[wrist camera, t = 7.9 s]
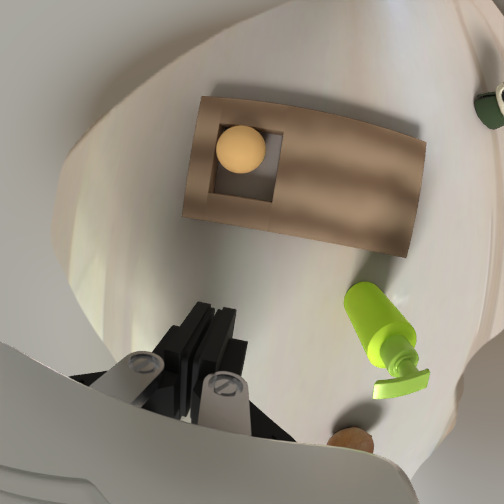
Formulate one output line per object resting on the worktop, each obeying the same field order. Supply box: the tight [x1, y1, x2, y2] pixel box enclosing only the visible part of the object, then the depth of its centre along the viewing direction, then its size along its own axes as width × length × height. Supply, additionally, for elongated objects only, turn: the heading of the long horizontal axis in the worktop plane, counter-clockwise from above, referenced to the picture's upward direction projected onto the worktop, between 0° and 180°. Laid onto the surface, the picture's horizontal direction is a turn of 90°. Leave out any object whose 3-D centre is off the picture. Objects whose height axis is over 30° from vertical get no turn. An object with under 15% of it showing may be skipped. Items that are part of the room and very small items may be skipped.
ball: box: [216, 125, 266, 173], centre depth 33 cm, size 6×6×6 cm
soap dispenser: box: [344, 282, 430, 399], centre depth 29 cm, size 6×7×20 cm
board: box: [182, 96, 426, 258], centre depth 34 cm, size 16×30×3 cm, turn 81°
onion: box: [327, 426, 374, 454], centre depth 41 cm, size 10×9×10 cm
